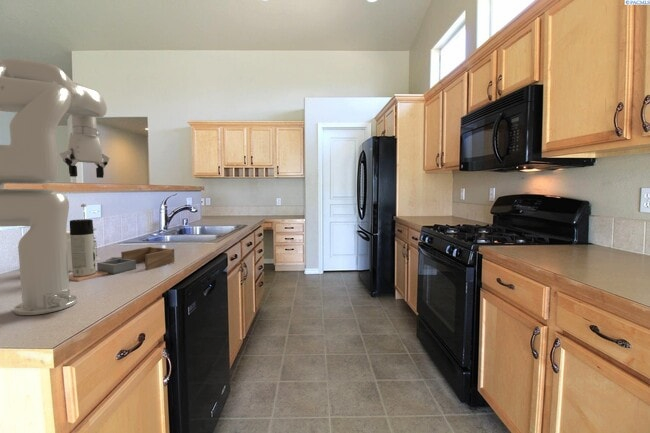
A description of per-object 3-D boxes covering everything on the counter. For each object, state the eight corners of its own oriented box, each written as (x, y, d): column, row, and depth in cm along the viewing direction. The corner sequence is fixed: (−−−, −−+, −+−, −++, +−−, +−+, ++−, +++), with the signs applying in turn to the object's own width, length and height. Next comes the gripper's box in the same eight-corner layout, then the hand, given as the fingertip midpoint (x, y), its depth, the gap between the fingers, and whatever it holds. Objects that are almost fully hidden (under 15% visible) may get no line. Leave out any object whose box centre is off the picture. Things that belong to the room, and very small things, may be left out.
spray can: (99, 273, 113) (96, 219, 111) (76, 278, 107) (73, 221, 105) (91, 271, 116) (88, 218, 115) (69, 275, 111) (65, 220, 109)
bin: (136, 268, 123) (135, 260, 123) (114, 274, 115) (113, 265, 114) (120, 266, 126) (119, 258, 126) (97, 271, 118) (97, 262, 117)
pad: (108, 274, 115) (107, 272, 115) (78, 281, 106) (78, 279, 106) (89, 271, 118) (89, 269, 118) (60, 278, 109) (60, 276, 109)
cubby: (174, 262, 134) (174, 249, 133) (147, 269, 122) (147, 254, 121) (150, 259, 139) (149, 246, 138) (121, 266, 126) (121, 252, 126)
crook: (146, 259, 140) (146, 256, 140) (141, 262, 134) (141, 259, 134) (112, 260, 137) (112, 257, 137) (105, 263, 132) (105, 260, 131)
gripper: (101, 137, 129) (103, 178, 130) (52, 129, 112) (55, 176, 114) (113, 136, 126) (115, 178, 128) (66, 128, 110) (68, 176, 111)
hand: (87, 177), depth 121 cm, fingers open, 9 cm apart
